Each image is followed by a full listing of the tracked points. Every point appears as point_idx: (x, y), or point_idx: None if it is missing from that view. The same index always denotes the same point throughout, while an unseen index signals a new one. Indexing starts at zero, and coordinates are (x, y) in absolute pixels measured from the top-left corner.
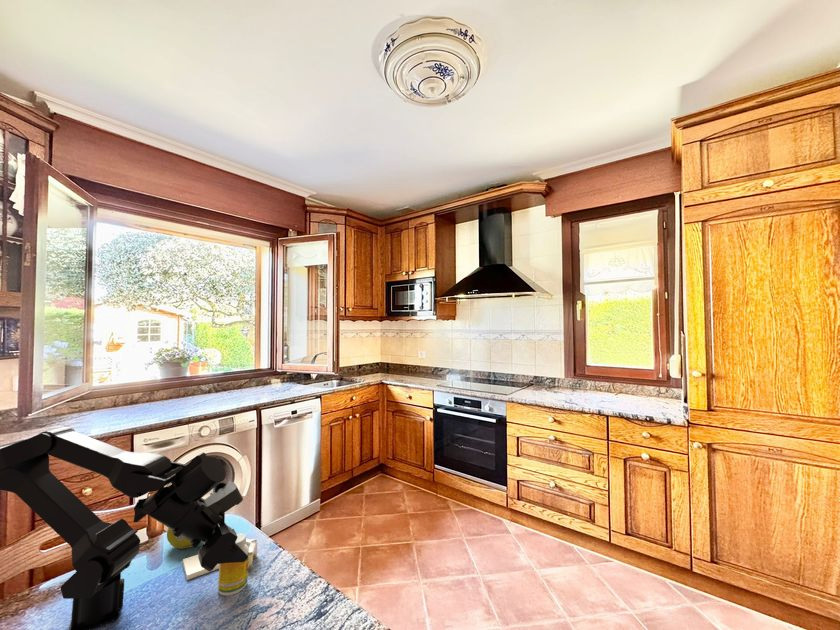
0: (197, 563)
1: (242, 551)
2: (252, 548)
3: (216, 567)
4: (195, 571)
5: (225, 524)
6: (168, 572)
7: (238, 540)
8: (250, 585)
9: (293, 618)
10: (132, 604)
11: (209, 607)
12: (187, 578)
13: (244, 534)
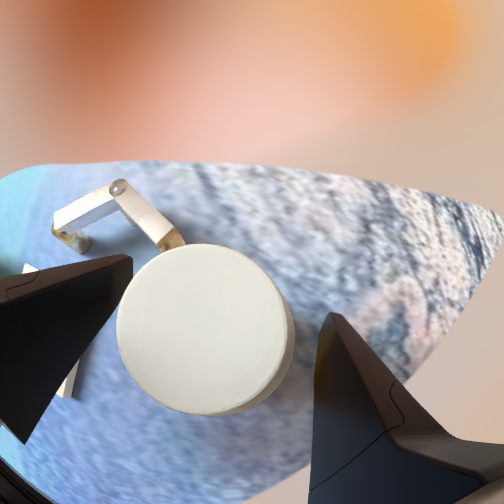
0: None
1: (373, 355)
2: (153, 214)
3: None
4: None
5: (10, 300)
6: None
7: (253, 327)
8: None
9: (462, 293)
10: (76, 500)
11: (259, 434)
12: (69, 395)
13: (203, 245)
